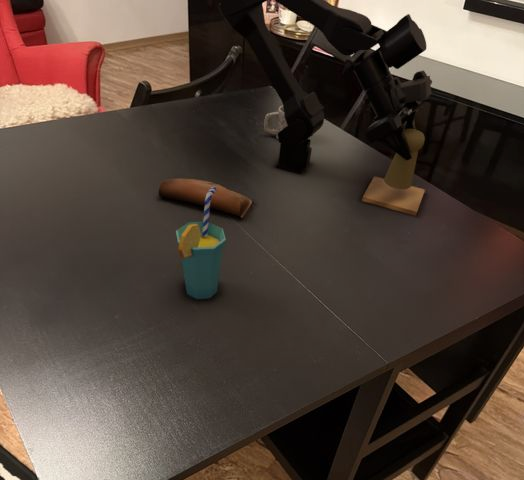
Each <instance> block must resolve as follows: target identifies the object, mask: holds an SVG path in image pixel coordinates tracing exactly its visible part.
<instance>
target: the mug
mask: <svg viewBox="0 0 524 480" xmlns="http://www.w3.org/2000/svg"><path fill="white" fill-rule="evenodd" d="M271 118H276V119H277V120H276V121H277V122H276V128H270V127H269V121H270V119H271ZM287 126H288V125H287V122H286V120H285V115H284V108H283V105H280V106H279V107H278V111H273V112H269V113H266V114H265V116H264V122H263V129H264V132H266V133H267V134H272V135H275V137H276V139H278V132H280V131H281V130H282V129H284V128H285V127H287Z"/></svg>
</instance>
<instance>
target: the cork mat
mask: <svg viewBox="0 0 524 480" xmlns="http://www.w3.org/2000/svg"><path fill="white" fill-rule="evenodd" d="M425 192H426V189H424V188H420V187H417V186H413V185H411V187H410V188H408V189H396V188H393V187H390V186H388V185H387V184H386V183H385V182H384V178H382V177H380V176H379V177H378V176H373V178H372V180H371V182H370V183H369V185H368V187H367V189H366V190H365V191H364V194H363V195H362V199H361V202H364V203H367V204H371V205H375V206H379V207H382V208H386V209H390V210H393V211H397V212H401V213H404V214H408V215H410V216H411V215H412V216H415V217H416V216H417V214H418V211H419V208H420V206H421V203H422V199H423V197H424V194H425Z"/></svg>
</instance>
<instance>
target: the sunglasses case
mask: <svg viewBox="0 0 524 480" xmlns="http://www.w3.org/2000/svg"><path fill="white" fill-rule="evenodd" d="M212 187H215V188H216V191H215V193H214V194H213V195H212V197H211V201H210V209H212V210H217V211H220V212H225V213H228V214H232V215H234V216H239V218H241V219H243V218H244V217H245V215H246V214H247V212H248V211H249V209H250V208H251V206H252V204H253V200H252V199H250V198H249V197H247V196H245V195H243V194H241V193H239V192H236V191H234V190H231V189H227V188H226V187H224V186H222V185H220V184H218V183H215V182H212V181H207V180H202V179H201V180H200V179H194V178H170V179H164V180H162V181H161V182H160V184H159V187H158V196H159V197H160V198H166V199H170V200H176V201H180V202H188V203H190V204H194V205H197V206H201V207H205V199H206V194H207V192H208V191H209V190H210V189H211V188H212Z"/></svg>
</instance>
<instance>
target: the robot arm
mask: <svg viewBox="0 0 524 480" xmlns="http://www.w3.org/2000/svg"><path fill="white" fill-rule="evenodd" d="M265 2H268V0H218V8H219V12H220V14H221V16H222V17H223V18H224V20H225V21H226V22H227V23H228V24H229V26H230V28H232V30H234V31H235V32H236V33H238V34H239V35H240V36H241V37H243V38H244V39H245V41H246V42H247V43H248V45H249V47H250V49H251V51H252V52H253V54H254V55H255V57H256V59H257V61H258V63H259V64H260V66H261V68H262V69H263V71H264V73H265V74H266V77H267V78H268V80H269V81H270V83H271V85H272V88H273V89H274V90H275V92H276V94H277V96H278V97H279V99H280V101H281V103H282V106H283V108H284V115H285V120H286V122H287V125H288V126H287V127H285V128H284V129H282V130H281V131H280V132H278V138H277V140H278V142H279V144H280V145H279V153H278V161H277V162H276V163H275V167H276V168H278V169H282V170H285V171H289V172H292V173H296V174H302V173H303V172H304V171H305V169H307V168H308V167H309V165H310V162H311V156H312V150H313V148H312V146H311V143H312V140H311V139H310V138H311V137H313V136H314V134H315V133H316V132H318V131H319V130H320V129H321V128H322V127H323V125H324V122H325V113H324V109H325V106H323V105H322V104H321V102H320V100H319V99H318V96H317V93H316V92H315V91H312V92H311V93H307V92H306V91H305V90H303V89H302V87H301V86H300V83H299V82H298V80H297V79H296V76H295V75H294V74H293V73H294V72H293V71H292V69H291V68H290V66H289V64H288V62H287V60H286V58H285V57H284V55H283V53H282V52H281V50H280V48H279V46H278V44H277V43H276V40H275V39H274V37H273V36H272V33H271V32H270V30H269V28H268V26H267V24H266V18H265V12H264V6H263V4H264V3H265ZM274 2H276V3H278V4H279V5H281V6H283V7H284V8H285V9H287V10H288V11H290V12H291V13H292V14H295V15H297V16H298V17H299V18H301V19H302V20H304V21H306V22H307V23H309V24H310V25H312V26H314V27H315V28H317V29H318V30H319V31H320V32H321V33H322V34H323V35H324V37H325V39H326V40H327V42H328V43H329V44H330V45H331V46H332V47H333V48H334V49H335V50H336V51H337V52H339V53H340V54H341V55H343V56H346V57H347V56H352V55H355V54H357V53H358V52H360V51H363V52H361V53H360V54H359V55H357V56H356V57H355V58H352V57H348V58H347V59H345V60H344V61H345V63H344V69H343V72H342V76H343V77H347V75H349V74H350V73H352V72H353V73H354V74H355V76H356V78H357V80H358V83H359V84H360V87H361V88H362V90H363V92H364V94H365V98H364V99H363V101H364V103H365V105H368V104H370V106H371V108H372V110H373V112H374V115H375V117H374V118H373V121H374V122H373V123H371V124H370V125H369V126H367V128H366V130H365V135H364V136H365V139H366V140H367V142H368V145H372V144H373V143H375V142H377V143H381V144H382V145H384V146H385V147H387V148H388V149H390V150H391V151H393V152H394V153H395V154H396V153H397V154H399V155H400V156H401V157H403V158H404V159H406V160H410V159H411V158H412V155H411V152H410V149H409V146H408V143H407V140H406V137H405V134H404V130H405V129H416V123H415V120H416V117H417V116H418V115H417V114H418V112H419V110H420V109H419V107H418V106H420V105H421V104H422V103H423V102H424V101H427V100H428V99H429V96H431V95H432V84H433V79H431V76H430V75H427V73H426V72H425V70H419V71H416V72H415V73H414V74H413V76H412V79H409V80H407V81H404V82H402V81H401V80H400V78H399V77H397V76H395V77H393V75H392V73H391V71H390V69H391V68H394V69H396V70H399V69H401V68H402V67H403V66H405V65H406V64H408V63H409V62H411V61H412V60H414V59H415V58H417V57H418V56H419V55H421V54H422V53H424V52H425V51H427V40H426V37H425V34H424V31H423V30H422V28H420V26H419V25H418V23H417V22H416V21H414V20H413V18H412V16H411V14H410V13H407V14H406V15H404V16H403V17H402V18H400V19H399V20H398V22H396V23H395V24H394V25H393V26H392V27H390V28H389V29H388V30H386V29H384V28H381V27H379V26H377V25H374V24H372V21H371V20H370V18H369V17H368V16H367V15H365V14H362V13H359V12H358V11H355V10H354V11H353V10H352V9H348V8H343V7H339V6H336V5H333V4H331V2H328V1H327V0H274ZM377 45H379V47H378V48H376V49H375V50H373V52H371V51H370V50H371V49H372V48H374V47H376V46H377ZM389 68H390V69H389ZM414 107H417V108H416V109H414V110H412V109H413V108H414Z"/></svg>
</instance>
